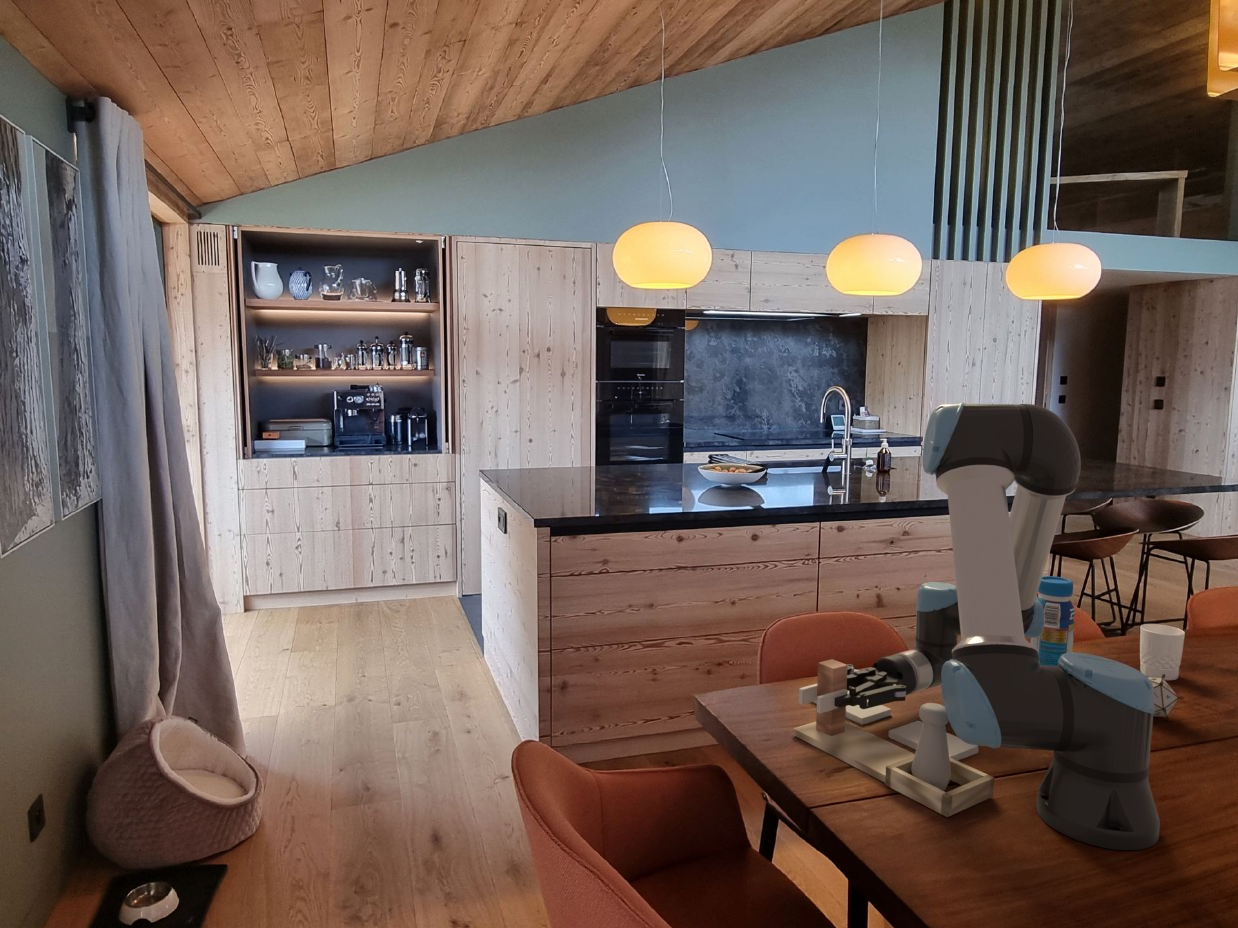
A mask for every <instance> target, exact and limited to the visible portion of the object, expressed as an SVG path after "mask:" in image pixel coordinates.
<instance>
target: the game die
mask: <svg viewBox="0 0 1238 928" xmlns="http://www.w3.org/2000/svg"><path fill="white" fill-rule="evenodd" d="M1147 677H1148V676H1147ZM1164 677H1165V674H1163V675H1162V677H1148V678H1149V680H1150V681H1151V683H1152V685H1153V688H1154V708H1155V713H1153V717H1159V718H1161V717H1163V718H1166V720H1167V721H1169V722H1171V717H1170V716H1169V715H1170V714H1171V712H1172V710H1173V709H1174V707H1175V705H1176V703H1177V702H1178V701H1179V700H1184V699H1185V697H1183V696H1181V695H1180V696H1179V695H1178V694H1177V693H1176V692H1175V690H1174V688H1172V687H1171V686H1170V684H1169V683H1168V682H1167V680H1165V679H1164Z"/></svg>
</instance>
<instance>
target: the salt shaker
mask: <svg viewBox="0 0 1238 928" xmlns="http://www.w3.org/2000/svg"><path fill="white" fill-rule="evenodd" d="M918 712H919V713H918V715H919V719H920V721H921V722H923V726H922V730H921V734H920V738H919V741H918V745H917V749H916V750H915V753H914V754H915V756H914V759H913V763H912V767H911V772H912V774H913V776H914V777H916V778H918V779H920V780H922V781H924V782H926V783H928V784H930V785H932V786H934V787H936V788H938V789H940V790H942V791H944V792H945V790H946V788H947V787H948V786H949V785H948V784H950V781H951V780H950V779H951V767H950V759H949V751H948V744H947V736H946V732H947V730H946V729H947V728H946V725H947V724H948V723H950V722H949V719H948V716H947V713H946V710H945V706H944V704H943V705H942V704H939V703H937V702H936V703H935V702H926V703H924V704H921V705H920V708H919V711H918Z"/></svg>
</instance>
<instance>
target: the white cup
mask: <svg viewBox="0 0 1238 928" xmlns="http://www.w3.org/2000/svg"><path fill="white" fill-rule="evenodd" d="M1139 632H1140V634H1139V635H1140V637H1139V661H1140V667H1139V669H1140V670H1139V671H1140V672H1141V673H1143V674H1144V675H1145V676H1147V677H1162V675H1163V674H1165V677H1164V679H1165V681H1176V680H1177V679H1179V673H1180V666H1181V663H1182V657H1183V650H1184V642H1185V634H1186V632H1185V631H1184V630H1182V629H1180V628H1178V627H1174V626H1169V625H1166V624H1160V623H1159V624H1156V623H1144V624H1141V625H1140V628H1139Z"/></svg>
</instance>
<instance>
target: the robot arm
mask: <svg viewBox="0 0 1238 928" xmlns="http://www.w3.org/2000/svg"><path fill="white" fill-rule="evenodd" d="M1081 461H1082V460H1081V452H1080V448H1079V443H1078V442H1077V439H1076V437H1075V435H1074V433H1073V431H1072V430H1071V428H1070V427H1069V426H1068V424H1067V422H1065V421H1064V420H1063V419H1062V418H1061V417H1060V416H1059V415H1058V414H1056V413H1055V412H1053V411H1052V410H1050V409H1048V408H1046V407H1043V406H1041V405H1037V404H1032V403H1020V404H1013V403H1012V404H1009V403H1008V404H1007V403H1005V404H1003V403H1002V404H1000V403H998V404H996V403H992V404H991V403H990V404H989V403H964V402H960V403H950V404H949V403H948V404H947V403H946V404H940V405H938V406H936V407H935V408H934V409H933V410H932V412H931V414H930V416H929V420H928V422H927V425H926V431H925V434H924V441H923V447H922V468H923V472H924V473H925V474H929V475H930V476H933V475H935V482H936V487H937V488H938V489H939V490H940V491H941V492H943V493H944V494H945V495H947V502H948V503H947V504H948V512H949V513H948V514H949V515H948V516H949V523H950V535H951V543H952V554H953V565H954V575H955V584H952V583H949V582H941V581H927V582H924V583H923V584H921V585H920V586H919V587H918V591H917V599H916V605H915V611H916V613H915V615H916V616H915V636H914V637H915V639H914V648H912V649H910V650H908V649H907V650H905V651H901V652H898V653H894V654H890V655H886V656H883V657H880V658H878V659H877V660H876V661H875V662H874V663H873V665H871V667H865V668H861V669H855V667H854V665H853V663H849V664H848V663H846V665H847V690H846V689H842V690H839V691H835V692H832V693H828V694H825V695H821V696H818V697H817V683H815V684H810V685H806V686H803V687H799V689H798V690H799V691H798V704H799V705H801V706H803V705H806V704H810V703H813V701H817V704H816V711H817V712H818V713H823V712H827V711H830V710H833V709H837V708H840V707H845V706H848V705H850V706H856V705H860V706H859V707H860V708H861V709H868V708H871V707H875V706H879V705H883V706H884V705H887V704H890V703H894V702H903V701H904V702H905V701H906V699H907V698H906V697H907V696H908V695H912V694H914V693H917V692H920V691H923V690H928V689H930V688H934V687H937V686H941V695H942V700H943V706H945V710H946V713H947V716H948V719H949V722H948V723H949V725H950V726H951V729H952V730H953V732H954V733H955V736H956V737H958V738H960V739H961V740H962V741H964V742H965V743H968V744H972V745H977V746H983V747H989V748H991V749H994V750H995V749H999V748H1007V749H1022V750H1023V749H1024V750H1036V751H1038V750H1039V751H1053V756H1052V761H1051V763H1050V764H1049V767H1048V769H1047V771H1046V773H1045V775H1044V777H1043V779H1042V781H1041V783H1040V785H1039V787H1038V790H1037V793H1036V805H1035V806H1036V812H1037V814H1038V816H1039V817H1040V819H1042V820H1043V821H1044V822H1045V823H1046V824H1047V825H1048V826H1050V827H1051V828H1052V829H1054V830H1056V831H1057V832H1059V833H1061V834H1063V835H1065V836H1067V837H1069V838H1071V839H1073V840H1076V841H1079V842H1081V843H1084V844H1088V845H1091V846H1096V847H1098V848H1104V849H1110V850H1117V851H1137V850H1145V849H1147V848H1151V847H1153V846H1154V845H1156V843H1157V842H1159V841H1158V840H1159V838H1160V826H1161V823H1160V817H1159V813H1158V811H1157V807H1156V803H1155V799H1154V796H1153V793H1152V790H1151V786H1150V783H1149V768H1150V759H1151V758H1150V756H1151V745H1152V736H1153V735H1152V733H1153V724H1154V716H1153V713H1155V708H1154V688H1153V685H1152V683H1151V681H1150V680H1149V678H1148V676H1145V675H1144V674H1143V673H1141V671H1140V670H1138V669H1136V668H1135V667H1132V666H1129V665H1127V664H1125V663H1123V662H1120V661H1117V660H1113V659H1110V658H1107V657H1103V656H1099V655H1094V654H1091V653H1090V654H1089V653H1082V652H1072V653H1068V654H1067V653H1065V654H1062V655H1061V656H1060V659H1059V660H1058V665H1059V666H1045V665H1040V662H1039V655H1038V649H1037V648H1035V647H1034V646H1033V645H1032V644H1030V643H1031V642H1029V641H1028V640H1027V639H1031V638H1036V637H1038V636H1039V635H1040V634H1041V633H1042V631H1043V629H1044V620H1045V616H1044V610H1043V606H1042V604H1041V603H1040V601H1039V600H1037V596H1038V594H1039V593H1038V589H1039V586H1040V582H1041V579H1042V577H1043V576H1044V572H1045V569H1046V564H1047V563H1048V560H1049V556H1050V552H1051V549H1052V545H1053V541H1054V538H1055V535H1056V531H1057V528H1058V524H1059V522H1060V518H1061V515H1062V512H1063V507H1064V503H1065V501H1066V497H1067V496H1070V495H1071V494H1073V493H1074V492H1075V490H1076V488H1077V485H1078V481H1079V477H1080V475H1081V469H1082V467H1081V466H1082V463H1081ZM1014 482H1015V484H1016V489H1015V494H1014V498H1013V502H1012V506H1011V508H1010V512H1009V506H1008V499H1007V490H1008V488H1009V487H1010V486H1012V485H1013V484H1014ZM958 636H960V638H961V639H960V641H959V642H958ZM848 691H849V694H848ZM867 700H868V702H867Z"/></svg>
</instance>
